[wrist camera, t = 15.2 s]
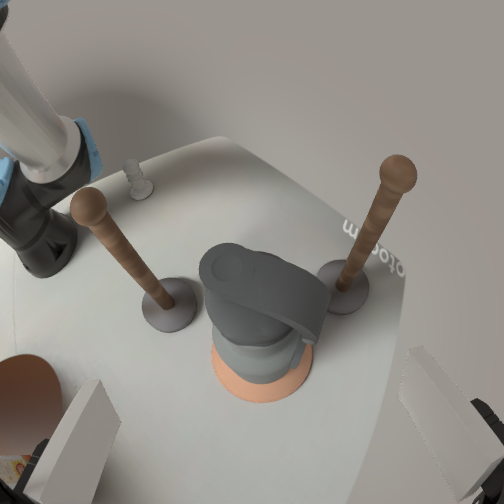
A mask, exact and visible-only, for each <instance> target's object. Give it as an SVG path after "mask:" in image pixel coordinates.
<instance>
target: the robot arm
mask: <svg viewBox="0 0 504 504" xmlns="http://www.w3.org/2000/svg"><path fill="white" fill-rule="evenodd" d="M9 1H10V0H0V147H1V148H2V149H4V150H5V151H6V152H8V153H9V154H10V155H12V156H13V157H15V158H16V159H17V160H16V161H15V162H14V161H13V159H12V158H10V157H5V158H2V159H0V238H1V239H3V240H4V241H5V242H6V243H7V244H8V245H9V246H11V247H12V248H13V249H14V250H15V251H16V253H17V255H18V256H19V258H20V260H21V262H22V263H23V265H24V267H25V268H26V270H27V271H28V272H29V273H31V274H32V275H33V276H35V277H37V278H47V277H50V276H52V275H54V274H56V273H57V272H58V271H59V270H61V269H62V268H63V267H64V265H65V264H66V263H67V262H68V260H69V259H70V257H71V255H72V253H73V251H74V248H75V245H76V241H77V231H76V227H75V225H74V224H73V222H72V221H71V220H70V219H69V218H68V217H67V216H66V215H64V214H62V213H59V212H57V211H55V210H54V209H52V208H51V207H53V206H54V205H56V204H57V203H59V202H60V201H61V200H63V199H64V198H66V197H67V196H69V195H70V194H72V193H73V192H75V191H77V190H78V189H80V188H81V187H83V186H84V185H86V184H89V183H91V182H92V180H93V179H95V178H96V177H98V176H99V175H100V174H101V173H102V171H103V164H102V161H101V158H100V155H99V153H98V151H97V148H96V144H95V142H94V140H93V137H92V135H91V132H90V130H89V127H88V125H87V123H86V121H85V120H84V119H83V118H78V119H75V120H71V119H70V118H67V117H65V116H58V115H57V114H56V112H55V111H54V110H53V108H52V107H51V105H50V104H49V102H48V101H47V100H46V98H45V97H44V95H43V94H42V92H41V91H40V90H39V88H38V86H37V85H36V83H35V82H34V80H33V79H32V78H31V76H30V74H29V73H28V71H27V70H26V69H25V67H24V65H23V64H22V62H21V61H20V59H19V57H18V56H17V54H16V53H15V51H14V49H13V48H12V46H11V44H10V43H9V41H8V39H7V38H6V36H5V34H4V33H3V29H4V27H5V25H6V23H7V20H8V17H9V8H8V5H7V4H8V2H9ZM398 397H399V398H400V400H401V402H402V403H403V405H404V407H405V409H406V410H407V412H408V414H409V415H410V417H411V419H412V420H413V422H414V424H415V425H416V427H417V429H418V431H419V433H420V434H421V436H422V438H423V440H424V441H425V443H426V445H427V447H428V448H429V450H430V452H431V454H432V456H433V458H434V459H435V461H436V463H437V465H438V467H439V468H440V470H441V472H442V474H443V476H444V478H445V480H446V482H447V483H448V485H449V487H450V489H451V491H452V493H453V495H454V497H455V499H456V501H457V503H458V502H460V501H462V500H464V499H465V498H467V497H469V496H471V495H472V494H474V493H475V492H476V491H477V489H478V488H479V487H480V486H481V487H482V489H483V491H482V492H481V493H480V494H479V495H478V496H477V497H476V498H475V499H474V501H473V503H472V504H475V503H476V502H477V501H478V500H479V503H478V504H504V424H503V423H502V422H501V421H499V418H498V417H497V416H496V414H494V412H493V411H492V409H491V408H490V407H489V406H488V405H487V404H486V403H484V402H483V401H481V400H479V399H478V398H476V399H474V400H472V401H469V400H468V399H467V397H466V396H465V395H464V394H463V393H462V391H461V390H460V389H459V388H458V386H457V385H456V384H455V383H454V382H453V381H452V379H451V378H450V377H449V376H448V374H447V373H446V372H445V371H444V370H443V368H442V367H441V366H440V365H439V364H438V363H437V361H436V360H435V359H434V358H433V357H432V356H431V355H430V353H429V352H428V351H427V350H426V349H425V348H424V347H423V346H421V347H417V348H413V349H410V350H408V354H407V359H406V364H405V368H404V373H403V377H402V381H401V386H400V389H399V393H398ZM120 424H121V420H120V419H119V417H118V415H117V413H116V411H115V409H114V407H113V405H112V403H111V401H110V399H109V397H108V395H107V393H106V391H105V389H104V387H103V384H102V382H101V380H98V379H86V380H85V382H84V383H83V385H82V386H81V388H80V390H79V391H78V393H77V395H76V396H75V398H74V399H73V401H72V403H71V404H70V406H69V408H68V410H67V411H66V413H65V415H64V416H63V418H62V420H61V421H60V423H59V425H58V427H57V428H56V430H55V432H54V434H53V436H52V437H51V439H50V440H49V439H44V440H43V441H42V442H41V443H40V444H39V445H37V447H36V449H35V450H34V452H33V454H32V457H30V459H29V461H28V464H27V465H26V467H25V469H24V470H23V472H22V474H21V476H20V478H19V480H18V482H17V484H16V486H15V488H14V489H13V490H12V489H11V488H10V487H9V486H8V485H7V484H6V483H5V482H4V481H3V480H2V479H0V504H91V503H92V500H93V497H94V494H95V491H96V488H97V485H98V483H99V480H100V477H101V474H102V471H103V469H104V466H105V463H106V461H107V458H108V455H109V453H110V450H111V447H112V445H113V442H114V439H115V437H116V434H117V432H118V429H119V427H120Z"/></svg>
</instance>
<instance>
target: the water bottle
mask: <svg viewBox="0 0 504 504" xmlns="http://www.w3.org/2000/svg"><path fill="white" fill-rule="evenodd" d="M199 275H200V279H201V281H202V283H203V285H204V286H205V288H206V292H205V305H206V309H207V312H208V315H209V317H210V319H211V321H212V323H213V329H212V335H213V342H214V345H215V349H216V351H217V353H218V354H219V356H220V358H221V359H222V360H223V361H224V363H225V364H226V365H227V366H228V367H229V368H230V369H232V370H233V371H234V372H235V373H236V374H237V375H238V376H239V377H241V378H242V379H243V380H245V381H247V382H250V383H254V384H269V383H272V382H275V381H277V380H279V379H280V378H282V377H283V376H284V375H285V374H286V373H287V372H288V371H289V369H290V368H292V369H296V368H297V367H298V365H299V363H300V361H301V358H302V355H303V353H304V350H305V347H306V344H310V345H313V344H316V342H317V340H318V337H319V334H320V331H321V328H322V325H323V322H324V318H325V315H326V312H327V309H328V306H329V302H330V299H331V294H330V291H329V289H328V288H327V287H326V285H325V284H324V283H323V282H322V281H320V280H319V279H318V278H317V277H315V276H314V275H312V274H311V273H309V272H308V271H306V270H304V269H302V268H300V267H298V266H296V265H293V264H291V263H288V262H286V261H284V260H283V259H281V258H279V257H277V256H275V255H273V254H270V253H266V252H259V251H252V250H249V249H246V248H244V247H243V246H241V245H238V244H234V243H223V244H219V245H216V246H214V247H212V248H211V249H209V250H208V251H207V252H206V253H205V254H204V256H203V257H202V259H201V261H200V265H199Z"/></svg>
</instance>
